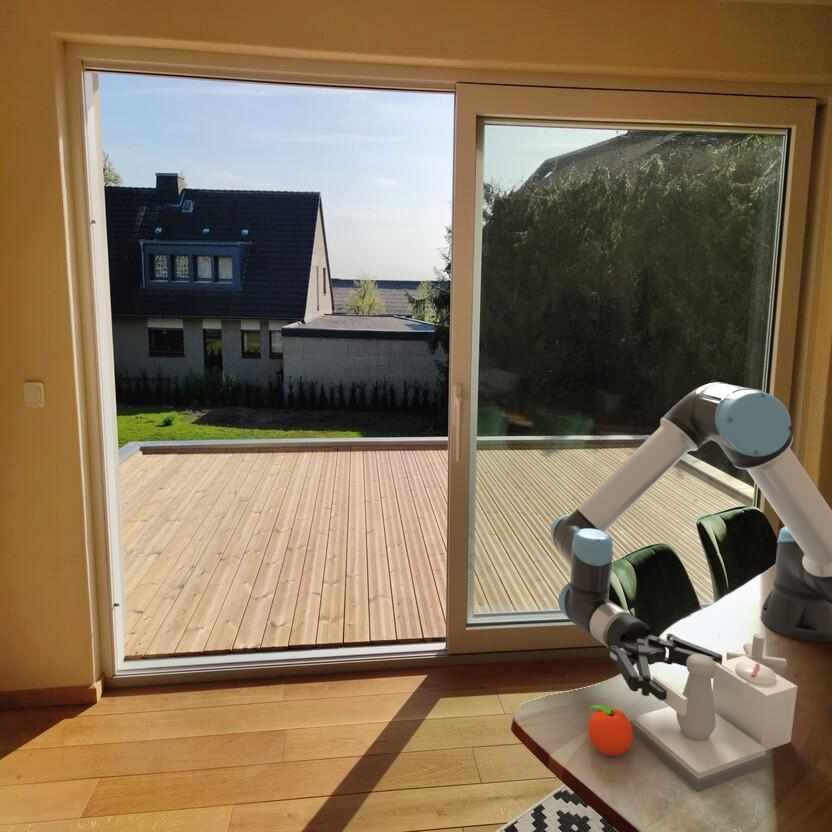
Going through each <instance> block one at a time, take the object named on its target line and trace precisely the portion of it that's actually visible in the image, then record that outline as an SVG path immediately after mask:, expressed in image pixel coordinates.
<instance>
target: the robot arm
mask: <svg viewBox="0 0 832 832" xmlns="http://www.w3.org/2000/svg"><path fill="white" fill-rule="evenodd" d="M791 426H792V420H791V416H790V413H789V410H788V408H787V407H786V406H785V405H784V403H783V402H782V401H781V400H779V399H778V398H777V397H775V396H774V395H772V394H770V393H767V392H765V391H764V390H761V389H757V388H752V387H751V388H750V387H743V386H739V385H734V384H729V383H726V382H711V383H707V384H704V385H701V386H699V387H698V388H695V389H694V390H692V391H691V392H689V393H688V394H687V395H685V396H684V397H683V398H682V399H681V400H679V401H678V402H677V403H676V404H674V406H672V407H671V409H670V410H668V412H667V413H665V414H664V415H663V416H662V417H661V418H660V426H659V427H658V428H657V430H655V431H654V432H653V433H652V434H651V435H650V436H649V437H648V438H647V439H646V440H645V441H644V442H643V443H642V444H641V445H640V446H639V447H638V448H637V449H636V450H635V451H634V452H633V453H632V454H631V455H630V456H629V457H628V458H627V459H626V460H625V461H624V462H623V463H622V464H621V465H619V467H618V468H617V469H616V470H615V471H614V472H613V473H612V474H611V475H609V477H607V479H605V481H604V482H602V484H601V485H599V487H597V489H596V490H594V491H593V492H592V493H591V495H590V496H588V497H587V498H586V500H585V501H584V502H583V503H581V504H580V505H579V506H578V508H577V509H575V510H574V512H572V513H571V514H564V515H561V516H558V517H557V518H555V519H554V520H553V522H552V524H551V526H550V537H551V540H552V541H553V544H554V546H555V547H556V549H557V550H558V551H559V552H560V553H561V554H562V556H563V557H564V558H565V560H566V561H567V563H568V564H569V565H570V580H569V581H570V582H568V583H567V584H565V585H564V586H563V587H562V588H561V592H560V594H558V600H557V604H558V607H559V608H558V609H560V611H561V613H563V615H565V617H566V618H568V620H569V621H570V622H571V623H572V624H575V625H576V626H578V627H579V628H581V629H583V631H584V632H586V633H588V634H589V635H590V636H591V637H593V638H594V639H596V640H597V641H598V642H600V643H601V644H602V645H604V646H605V647H606V648H607V649H609V650H610V651H609V652H610V653H609V661H610V662H611V663H613V664H614V665H615V666H616V667H617V669H618V670H619V672H620V674H621V676H622V678H623V680H624V681H625V683H626V685H627V686H628V688H629V690H630V691H631V692H638V690H641V695H642V696H644V697H648V696H650V694H651V695H652V696H653V697H655V698H656V699H657V700H659V701H661V702H662V701H663V703H665V704H666V705H668V707H669V706H670V707H671V708H673V709H674V710H675V711H676V712H678V713H679V714H680V715H682V716H684V715H686V712H687V702H688V698H686V697H685V696H684V695H682V694H683V693H681V692H680V691H678V690H677V689H676V688H674V687H673V686H672V685H670V684H669V683H668V682H666V681H665V680H663V679H662V678H661V677H660V676H658V675H653V676H651V675H652V674H651V671H650V666H651V665H654V664H655V663H656V664H657V663H663V664H667V665H670V666H671V665H673V664H676V665H679V666H683V667H686V668H687V666H686V662H687V659H688V657H689V656H691V655H693V654H702V655H706V656H708V657H710V658H711V659H712V660H713V661H714V662H715V664H716V674H715V675H714V677H712V678H711V680H713V679H714V680H715V681H717V682H718V683H720V684H721V685H723V686H724V687H726V688H727V689H729V690H730V691H732V692H733V693H735V694H736V695H738V696H739V697H741V698H742V699H744V698H746V696H747V688H748V682H747V681H745V680H744V679H742V678H741V677H739V676H738V675H736V674H734V673H733V672H732V671H731V670H729V669H727V668H726V667H724V666H723V665H722V661H723V658H724V656H723V655H722V654H721V653H718V652H715V651H712V650H711V649H707V648H705V647H703V646H699V645H697V644H694V643H693V642H689V641H686V640H684V639H682V638H680V637H678V636H676V635H675V634H673V633H667V634H666V638H661V637H658V636H656V635H654V634H653V633H652V632H651V630H650V628H649V626H648V625H647V624H646V623H645V622H644V621H642V620H640V619H639V618H637V617H636V616H634V615H633V614H631V613H630V612H628V611H627V610H625V609H623V608H622V607H621V606H619V605H618V604H615V603H614V602H612V601H611V600H610V599H609V597H610V588H611V587H610V585H611V575H612V563H613V557H614V551H613V549H614V547H613V546H614V545H613V544H614V543H613V537H612V536H611V534H610V533H608V532H607V531H608V530H609V529H610V528H611V527H612V526H613V525H614V524H615V523H616V522H617V521H618V520H619V519H620V518H622V516H623V515H625V514H626V513H627V512H628V510H630V509H631V507H633V506H634V505H635V504H636V503H637V502H638V501H639V500H640V499H641V498H642V497H643V496H644V495H645V494H646V493H647V492H649V491H650V489H651V488H653V486H655V484H656V483H657V482H659V481H660V479H661V478H663V477H664V476H665V474H667V473H668V472H669V471H670V470H671V469H672V468H673V467H674V466H675V465H676V464H677V463H678V462H679V461H680V460H681V459H683V457H684V456H685V455H686V454H688V452H694V451H696V452H697V450H699V449H700V448H701V447H702V446H703V445H704V444H706V443H707V442H709V441H713V442H714V443H715V442H716V444H718V446H719V447H720V448H721V449H722V450H723V452H724V454H725V455H726V457H727V458H728V459H729V461H730V463H731V464H732V465H733V466H734V467H735V468H737V469H740V470H746V471H747V472H748V474H749V475H750V477H751V478H752V480H753V481H754V483H755V484H756V486H757V487H758V489H759V490H760V491H761V493H762V494H763V496H764V498H765V499H766V500H767V501H768V503H769V505H770V506H771V508H772V509H773V511H774V512H775V513H776V515H777V516H778V517H779V519H780V521H781V522H782V524H783V525H784V526H783V527H782V528H780V530H779V534H778V537H777V541H776V543H777V545H776V546H777V547H776V557H775V565H774V573H773V574H774V575H773V585H772V587H771V590H770V592H769V593H768V595H767V597H766V599H765V601H764V603H763V604H762V607H761V609H760V610H761V611H760V620H761V622H762V623H763V624H764V625H765V626H766V627H767V628H769V629H771V630H772V631H774V632H777V633H779V634H781V635H782V636H783V635H784V636H786V637H788V638H792V639H796V640H800V641H806V642H812V643H826V642H827V643H828V642H832V509H831V507H830V505H828V503H827V501H826V500H825V498H824V497H823V495H822V493H820V491H819V489H818V488H817V486H816V485H815V483H814V482H813V480H812V479H811V477H810V475H809V474H808V473H807V471H806V469H805V468H804V467H803V465H802V464H801V462H800V461H799V459H798V457H796V455H795V454H794V451H793V450H792V449H791V446H792V445H793V442H794V436H793V434H792V433H791V431H790V427H791ZM667 650H668V657H666V655H667ZM632 661H633V662H635V664H636V669H637V670H638V672H637V671H636V669H635V667H634V666H633V664H632ZM649 665H650V666H649ZM651 677H652V678H651Z"/></svg>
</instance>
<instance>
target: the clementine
mask: <svg viewBox="0 0 832 832" xmlns="http://www.w3.org/2000/svg"><path fill="white" fill-rule="evenodd" d="M591 708H593V709H594V708H596V710H595V711H594V712H593V713H592V715H590V717H589V719H588V721H587V723H588V724H587V733H588V734H587V735H588V738H589V741H590V742H591V744H592V745H593V746H594V748H595V749H596V750H597V751H599V752H600V753H601V754H604V755H606V756H621V755H622V754H623V753H625V752H626V751H628V750H629V748H630V747H631V745H632V742H633V739H634V738H633V737H634V735H633V730H632V726H631V724H630V722H629V721H630V720H629V718H628V716H626V715H625V714H624V713H623V712H621V711H620V710H619V709H617V708H614V707H608V706H605V705H602V704H597V705H595V704H594V705H591V706H590V707H588V708H587V709H586V711H585V713H587V712H588V710H590V709H591Z"/></svg>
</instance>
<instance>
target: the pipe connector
mask: <svg viewBox="0 0 832 832" xmlns="http://www.w3.org/2000/svg"><path fill="white" fill-rule="evenodd" d="M764 643H765V636H764V635H763V634H761V633H753V636H752V643H750V642H746V643H744V644H743V647H742V648H743V651H744V652H745V653H737V652H730V651H727V652H726V657H725V658H726V660H730V659H733V658H737V657H741V656H746V657H748V658H750V659H751V660H753V661H755V662H757V663H759V664H762V665H764V666H766V667H768V668H775V669H783V670H787V668H788V661H787V659H786V658H784V657H783V658H782V657H776V656H774V657H773V656H766V655H763V654H764Z"/></svg>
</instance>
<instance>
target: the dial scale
mask: <svg viewBox="0 0 832 832" xmlns="http://www.w3.org/2000/svg"><path fill="white" fill-rule="evenodd" d="M722 665H723V666H724V667H726V668H727V669H729V670H731V671H732V672H733V673H734V674H736V675H738V676H739V677H741V678H742V679H744V680H745V681H747V682H748V688H747V696H746V698H744V699H742V698H741V697H739V696H738V695H736V694H735V693H733V692H732V691H730V690H729V689H727V688H726V687H724V686H723V685H721V684H720V683H718V682H717V681H715V680H714V679H712V681H713V682H712V695H713V703H714V712H715V721H716V727H715V729H714V731H713V732H712V734H711V735H710V737H709V738H708V739H707V740H704V741H695V740H692V739H690V738H688V737H686V736H685V735H684V734H683V732H682V730H681V728H680V725H679V723H678V720H677V715H676V713H677V712H676V711H675V710H674V709H673V708H671V707H670V706H669V705H668V706H666V707H663V708H660V709H657V710H656V709H655V710H652V711H650V712H647V713H643V714H640V715H636V716H632V720H629V722H630V724H631V726H632V730H633V737H634V738H636V739H637V740H638V741H639V742H641V744H642V745H644V746H645V747H646V748H647V749H648V750H650V752H652V753H653V754H654V755H655V756H656V757H658V758H659V760H661V761H662V762H664V763H665V764H666V765H667V766H668V767H669V768H670V769H671V770H673V771H674V772H675V773H676V774H677V775H678V776H679V777H681V778H682V779H683V780H684V781H685V782H686V783H688V784H689V785H690V786H691V787H692V788H693V789H695V790H696V791H697V792H700V791H704V790H706V789H707V788H711V787H713V786H716V785H719V784H721V783H724V782H728V781H729V780H731V779H734V778H737V777H740V776H744V775H745V774H748V773H750V772H753V771H756V770H759V769H762V768H764V767H765V768H766V767H767V766H770V763H771V757H772V756H771V755H770V754H769V753H767V751H769V750H772V749H775V748H778V747H780V746H784V745H786V744H789V743H791V740H792V733H793V725H794V716H795V709H796V699H797V691H798V685H796V684H795V683H793V682H791V681H789V680H787V679H785V678H784V677H783V676H781V675H779V674H777V673H775V671H773V670H772V669H771V667H766V666H764V665H762V664H759V663H757V662H755V661H753V660H751V659H750V658H748V657H746V656H741V657H737V658H733V659H730V660H727V659H726V660H722Z"/></svg>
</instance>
